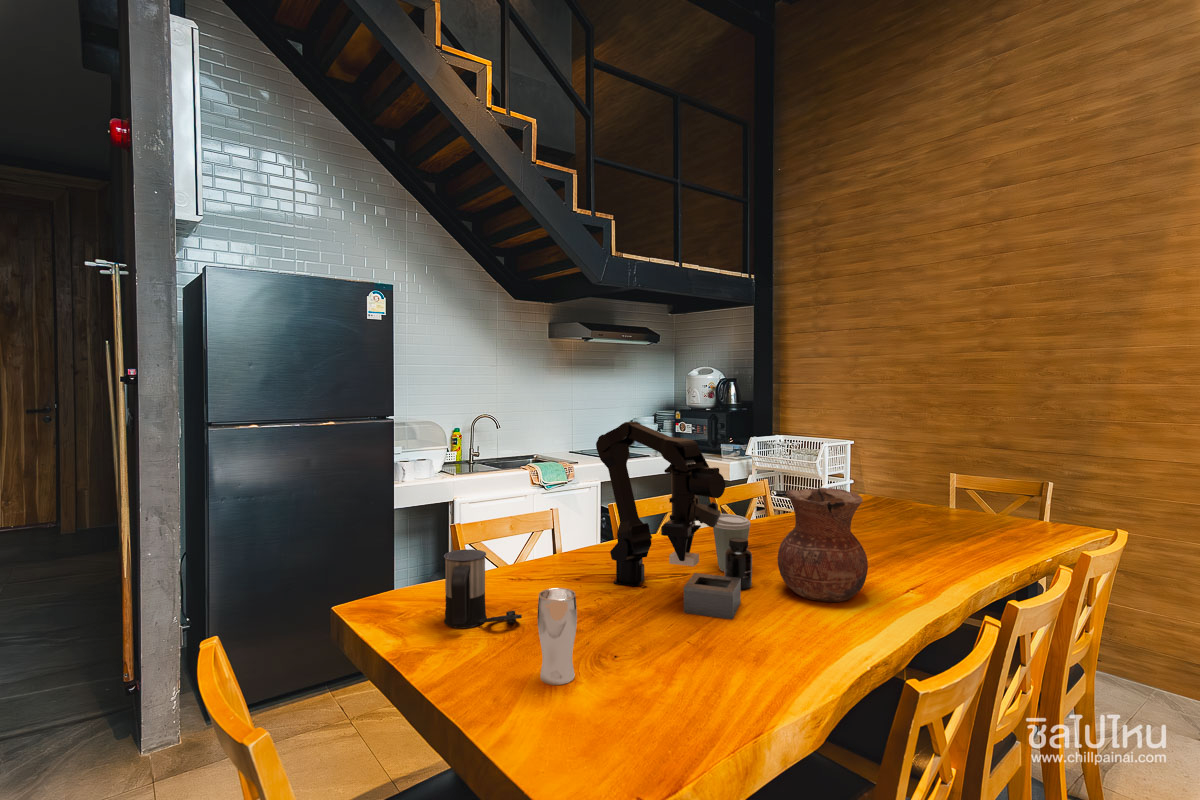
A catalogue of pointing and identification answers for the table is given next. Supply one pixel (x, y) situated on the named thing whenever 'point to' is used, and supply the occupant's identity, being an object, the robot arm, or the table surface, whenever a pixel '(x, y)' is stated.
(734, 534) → the disposable coffee cup
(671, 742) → the table surface
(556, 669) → the beer glass
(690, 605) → the grey hollow block
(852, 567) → the brown clay vase
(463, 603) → the milk frother
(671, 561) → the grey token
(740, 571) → the supplement bottle
